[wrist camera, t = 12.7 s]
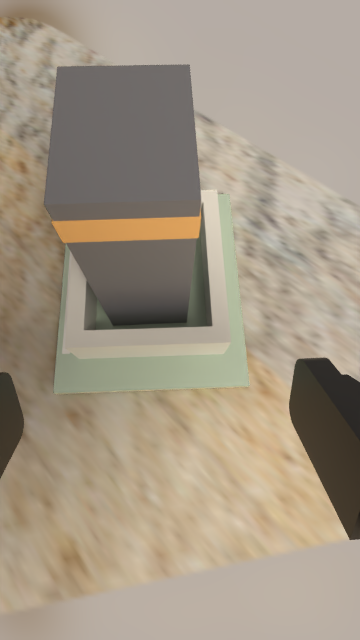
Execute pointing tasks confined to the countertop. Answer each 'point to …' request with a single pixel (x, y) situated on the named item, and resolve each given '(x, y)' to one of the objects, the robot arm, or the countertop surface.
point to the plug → (127, 186)
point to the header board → (159, 326)
